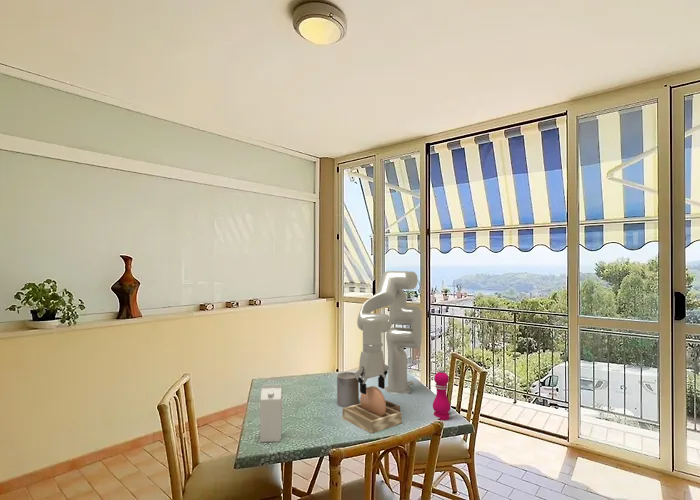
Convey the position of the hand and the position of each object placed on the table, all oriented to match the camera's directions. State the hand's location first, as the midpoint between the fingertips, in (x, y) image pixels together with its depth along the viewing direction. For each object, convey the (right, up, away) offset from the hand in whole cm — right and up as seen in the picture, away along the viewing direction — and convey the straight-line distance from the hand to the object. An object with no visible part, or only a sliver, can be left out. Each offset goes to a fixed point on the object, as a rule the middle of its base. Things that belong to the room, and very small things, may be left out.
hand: (372, 390), depth 160 cm
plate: (0, -11, -1) cm, 11 cm away
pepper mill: (+29, -13, +5) cm, 32 cm away
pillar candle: (-10, -13, +18) cm, 25 cm away
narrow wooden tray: (+5, -13, +13) cm, 19 cm away
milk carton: (-38, -12, -15) cm, 42 cm away
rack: (0, -13, -1) cm, 13 cm away
